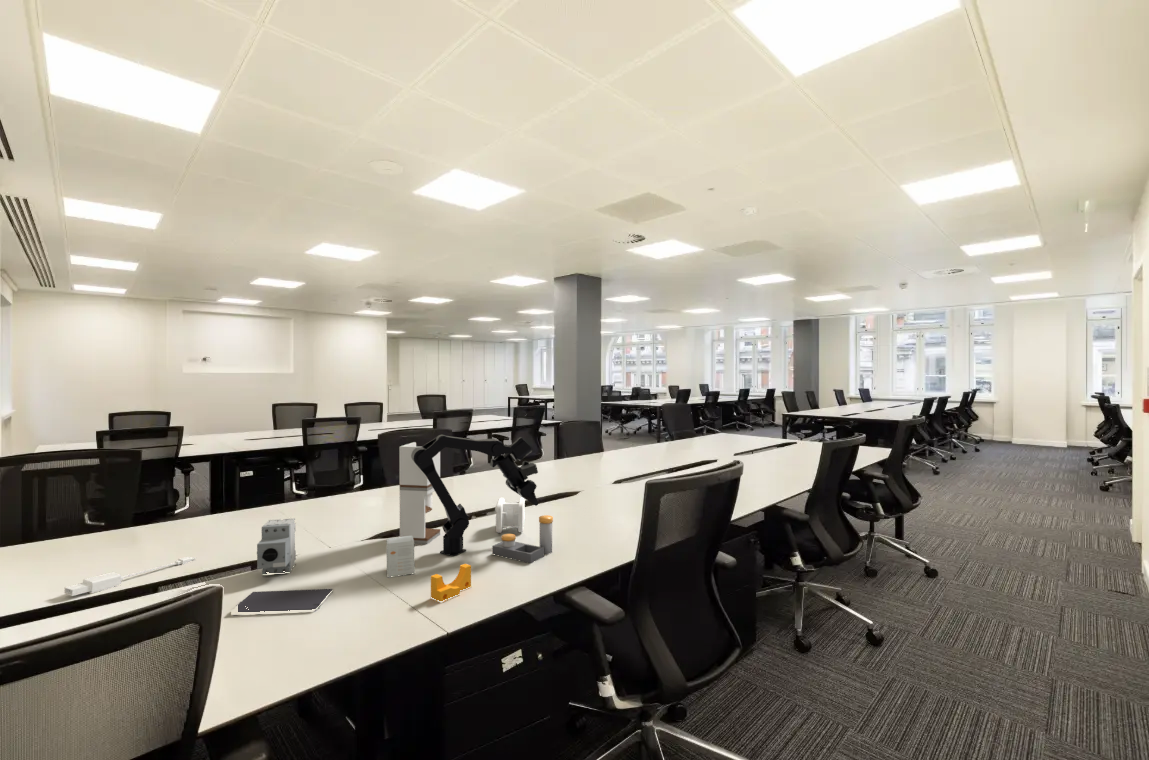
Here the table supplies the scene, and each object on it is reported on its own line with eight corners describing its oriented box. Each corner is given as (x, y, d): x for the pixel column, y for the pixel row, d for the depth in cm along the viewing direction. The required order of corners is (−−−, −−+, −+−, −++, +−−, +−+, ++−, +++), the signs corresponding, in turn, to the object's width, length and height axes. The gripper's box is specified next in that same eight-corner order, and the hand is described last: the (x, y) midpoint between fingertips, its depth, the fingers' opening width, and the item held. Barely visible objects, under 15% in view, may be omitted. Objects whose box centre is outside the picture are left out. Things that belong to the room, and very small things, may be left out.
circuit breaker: (255, 584, 154) (255, 533, 154) (269, 566, 168) (269, 519, 168) (284, 581, 156) (283, 531, 156) (295, 564, 170) (295, 518, 170)
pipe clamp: (440, 603, 142) (440, 580, 142) (430, 599, 145) (430, 575, 145) (475, 589, 152) (475, 567, 151) (465, 585, 154) (465, 563, 154)
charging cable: (199, 564, 173) (199, 554, 173) (73, 599, 144) (73, 587, 144) (189, 562, 175) (189, 552, 175) (63, 596, 146) (63, 583, 146)
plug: (547, 555, 179) (547, 519, 179) (536, 552, 182) (536, 517, 182) (555, 550, 184) (555, 516, 183) (543, 548, 186) (544, 514, 186)
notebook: (332, 593, 149) (252, 597, 147) (332, 588, 149) (252, 591, 147) (315, 614, 137) (228, 618, 134) (315, 608, 137) (228, 612, 134)
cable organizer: (522, 535, 201) (522, 505, 201) (494, 535, 200) (494, 505, 200) (524, 524, 216) (525, 495, 215) (498, 524, 215) (498, 495, 215)
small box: (413, 568, 167) (413, 535, 167) (414, 574, 162) (414, 540, 162) (386, 571, 165) (386, 537, 164) (387, 578, 159) (386, 543, 159)
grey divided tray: (530, 563, 172) (530, 545, 171) (492, 554, 180) (492, 537, 180) (543, 556, 178) (543, 538, 178) (506, 548, 186) (506, 531, 186)
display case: (427, 544, 190) (427, 447, 190) (399, 542, 192) (399, 446, 191) (440, 534, 202) (440, 443, 201) (414, 533, 203) (413, 442, 203)
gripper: (535, 458, 184) (559, 493, 187) (518, 451, 201) (540, 482, 205) (510, 479, 180) (535, 513, 184) (495, 469, 197) (518, 501, 201)
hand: (532, 501), depth 193 cm, fingers open, 9 cm apart
